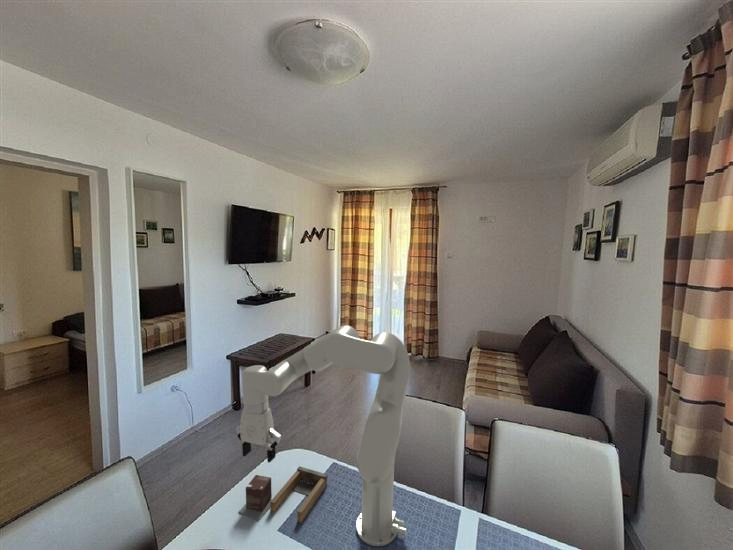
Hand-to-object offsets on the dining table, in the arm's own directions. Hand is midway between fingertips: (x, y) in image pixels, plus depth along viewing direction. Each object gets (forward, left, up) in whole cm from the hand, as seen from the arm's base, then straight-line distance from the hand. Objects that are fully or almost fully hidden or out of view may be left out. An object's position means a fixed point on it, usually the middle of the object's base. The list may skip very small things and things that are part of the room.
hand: (259, 456), depth 101 cm
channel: (-10, -8, -17) cm, 22 cm away
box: (+1, -1, -17) cm, 17 cm away
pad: (+1, 0, -17) cm, 17 cm away
